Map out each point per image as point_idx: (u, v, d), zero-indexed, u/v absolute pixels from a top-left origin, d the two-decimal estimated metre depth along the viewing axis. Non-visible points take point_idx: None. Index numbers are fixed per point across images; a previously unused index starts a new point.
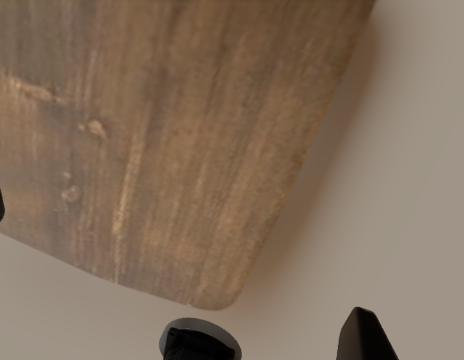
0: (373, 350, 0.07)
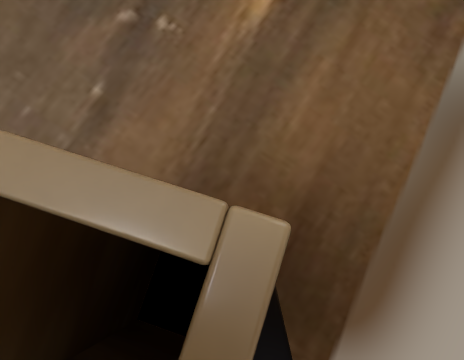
0: None
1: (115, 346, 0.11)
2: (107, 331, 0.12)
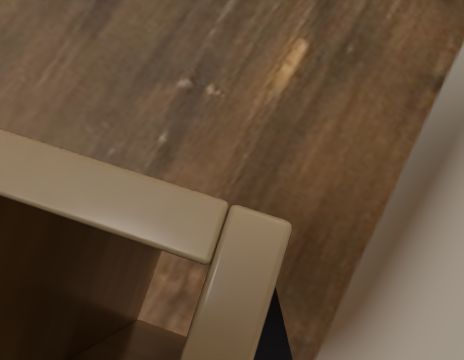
0: None
1: (115, 346, 0.12)
2: (108, 331, 0.12)
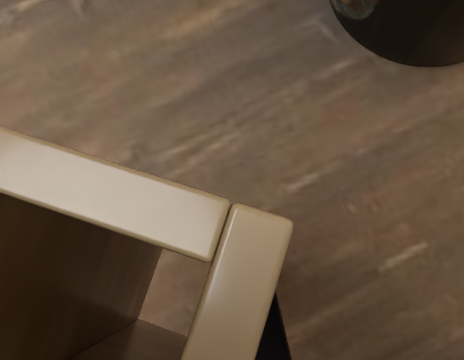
0: None
1: (116, 345, 0.12)
2: (108, 330, 0.12)
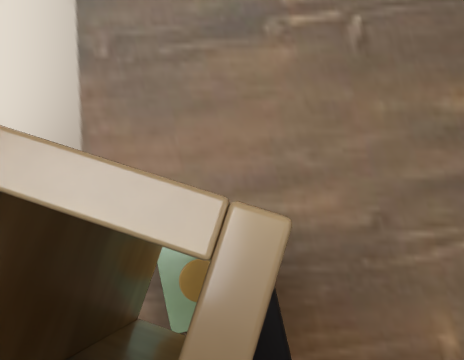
0: None
1: (116, 345, 0.12)
2: (108, 330, 0.12)
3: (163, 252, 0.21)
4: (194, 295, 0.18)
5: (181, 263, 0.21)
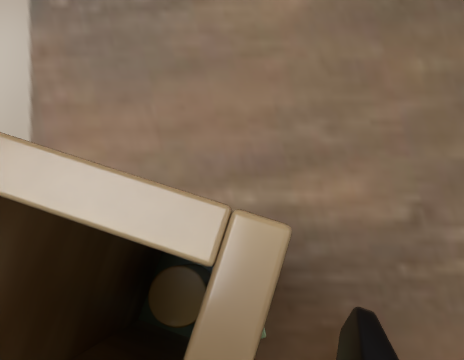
0: (373, 350, 0.07)
1: (117, 346, 0.12)
2: (109, 331, 0.12)
3: None
4: (169, 317, 0.13)
5: (157, 270, 0.16)
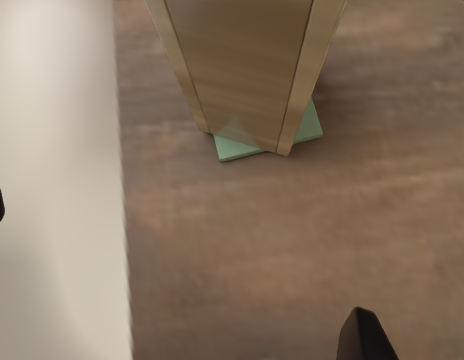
0: (373, 350, 0.07)
1: None
2: None
3: None
4: None
5: None
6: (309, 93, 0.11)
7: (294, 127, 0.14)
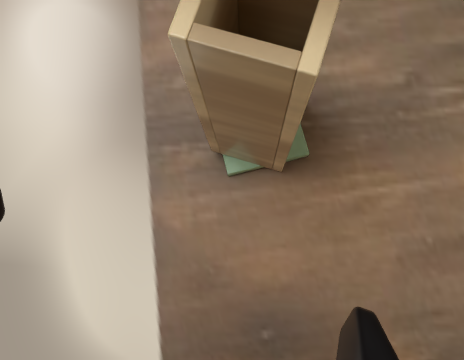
0: (373, 350, 0.07)
1: None
2: None
3: None
4: None
5: None
6: (294, 134, 0.16)
7: (285, 153, 0.19)
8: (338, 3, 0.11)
